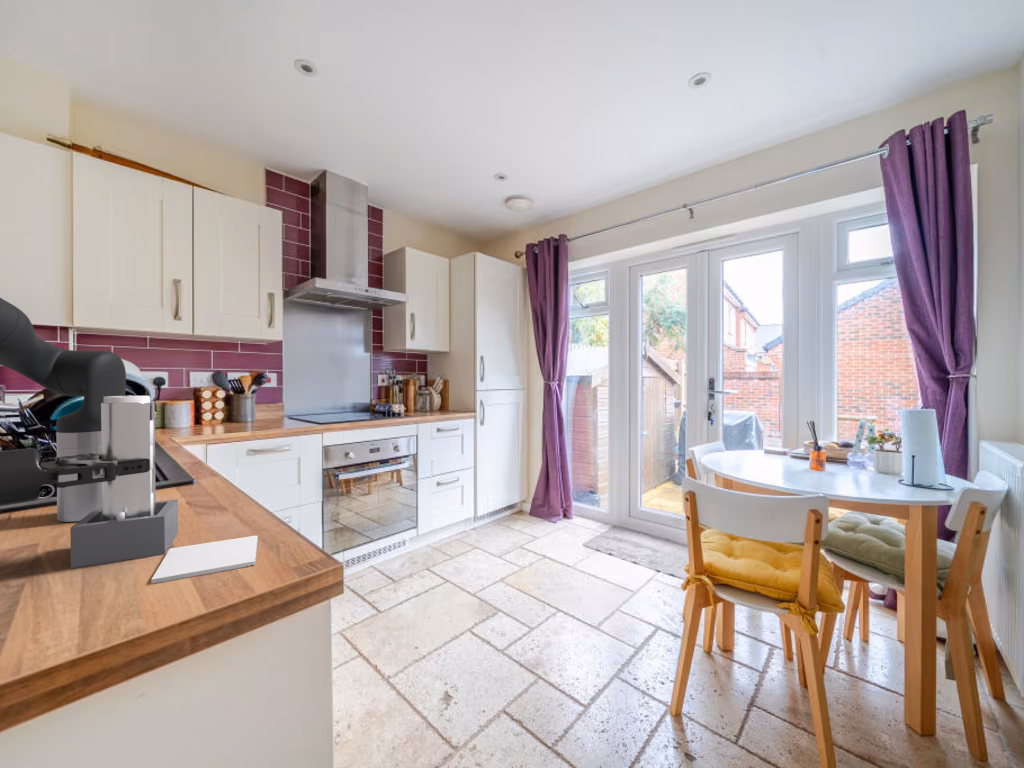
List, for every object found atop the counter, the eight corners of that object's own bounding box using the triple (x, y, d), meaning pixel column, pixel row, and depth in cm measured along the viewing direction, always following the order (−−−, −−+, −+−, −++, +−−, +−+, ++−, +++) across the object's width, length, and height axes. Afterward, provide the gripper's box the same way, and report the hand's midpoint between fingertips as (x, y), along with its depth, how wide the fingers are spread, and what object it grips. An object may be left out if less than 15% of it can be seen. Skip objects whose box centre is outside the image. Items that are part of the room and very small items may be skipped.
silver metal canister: (124, 558, 66) (122, 396, 65) (91, 554, 67) (89, 396, 67) (166, 542, 72) (165, 394, 72) (135, 539, 73) (134, 394, 73)
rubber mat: (170, 552, 68) (170, 548, 68) (257, 538, 74) (257, 535, 74) (151, 583, 58) (151, 579, 58) (254, 565, 64) (254, 561, 64)
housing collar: (97, 543, 72) (97, 500, 72) (178, 532, 77) (177, 492, 77) (70, 568, 62) (70, 519, 62) (164, 553, 68) (164, 508, 67)
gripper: (-10, 458, 53) (154, 442, 66) (-19, 447, 62) (129, 435, 75) (-9, 518, 53) (155, 490, 67) (-18, 499, 62) (129, 478, 75)
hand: (141, 461), depth 71 cm, fingers open, 8 cm apart
